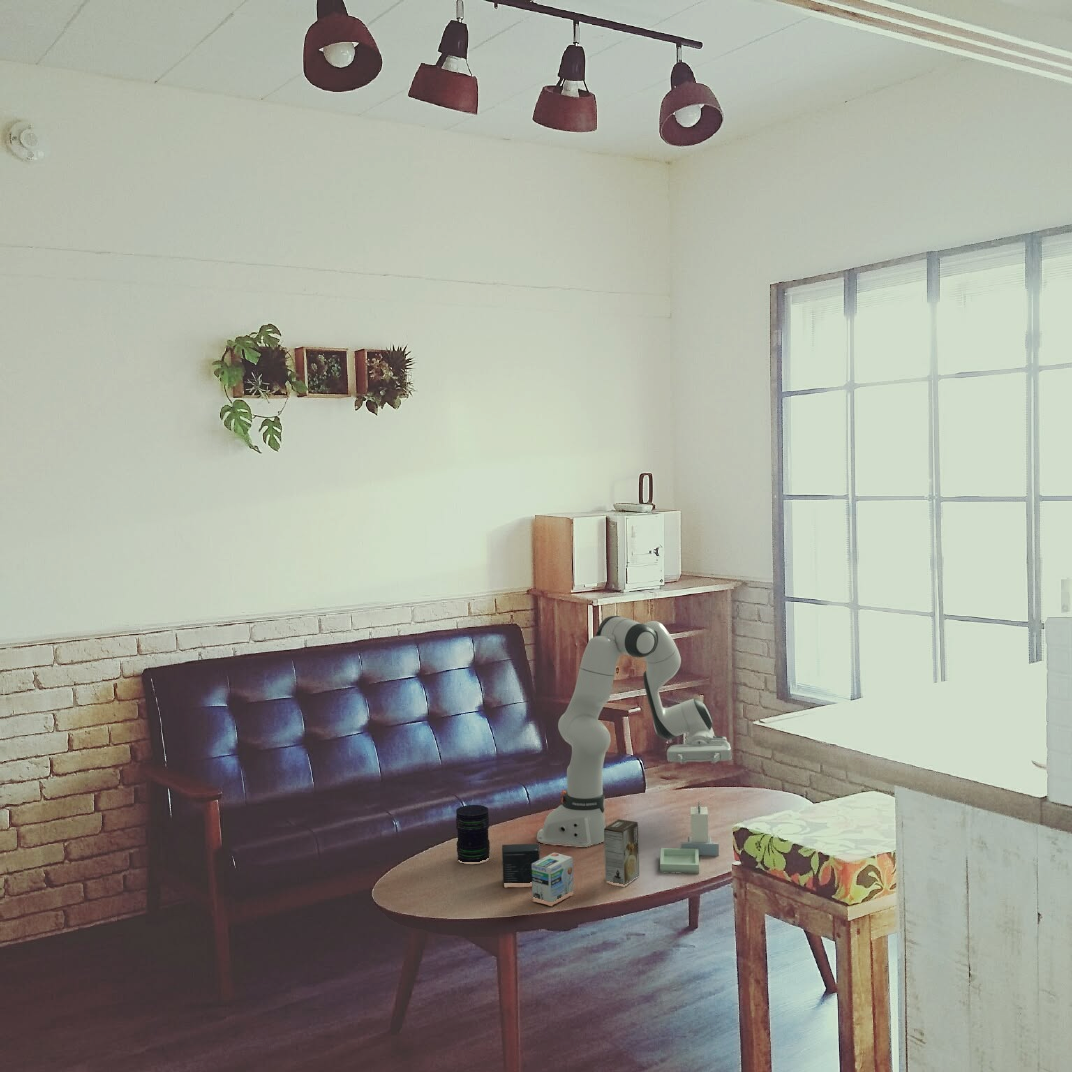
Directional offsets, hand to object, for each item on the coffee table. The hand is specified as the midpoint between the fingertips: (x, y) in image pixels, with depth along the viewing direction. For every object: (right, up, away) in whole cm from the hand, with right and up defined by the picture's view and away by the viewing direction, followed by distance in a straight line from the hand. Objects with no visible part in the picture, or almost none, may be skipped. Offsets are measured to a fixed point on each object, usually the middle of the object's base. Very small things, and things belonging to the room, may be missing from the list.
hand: (698, 761), depth 349 cm
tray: (-9, -26, -22) cm, 35 cm away
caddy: (-1, -25, -10) cm, 27 cm away
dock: (-1, -24, -10) cm, 27 cm away
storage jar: (-69, -27, -14) cm, 75 cm away
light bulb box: (-46, -28, -45) cm, 70 cm away
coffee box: (-26, -27, -33) cm, 50 cm away
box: (-54, -28, -34) cm, 70 cm away
